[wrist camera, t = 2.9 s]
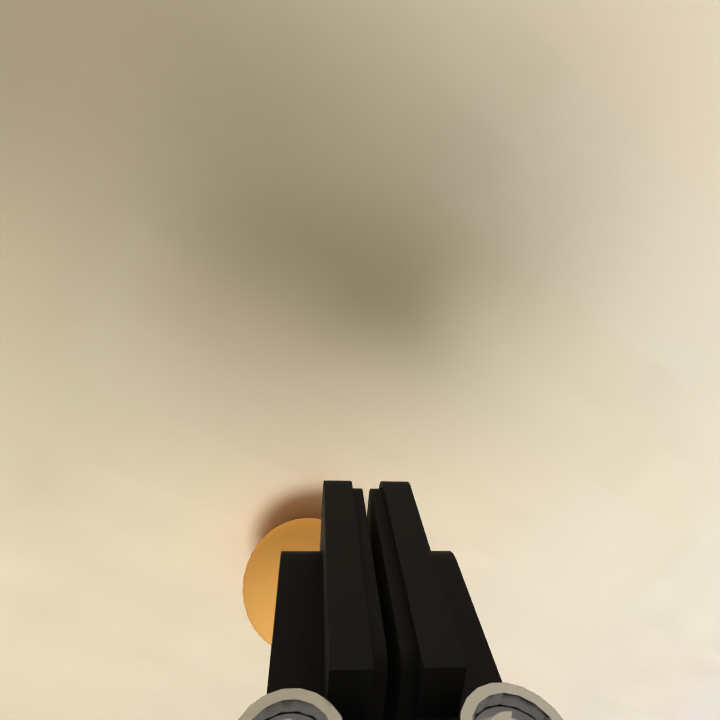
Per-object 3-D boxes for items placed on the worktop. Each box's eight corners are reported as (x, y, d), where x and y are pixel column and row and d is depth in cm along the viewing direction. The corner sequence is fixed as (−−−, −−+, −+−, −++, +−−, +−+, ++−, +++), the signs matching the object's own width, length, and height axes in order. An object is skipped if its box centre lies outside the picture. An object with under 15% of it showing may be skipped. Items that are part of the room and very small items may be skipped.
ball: (249, 493, 21) (233, 583, 16) (364, 493, 22) (381, 579, 17) (249, 585, 23) (235, 690, 18) (356, 582, 23) (370, 683, 19)
